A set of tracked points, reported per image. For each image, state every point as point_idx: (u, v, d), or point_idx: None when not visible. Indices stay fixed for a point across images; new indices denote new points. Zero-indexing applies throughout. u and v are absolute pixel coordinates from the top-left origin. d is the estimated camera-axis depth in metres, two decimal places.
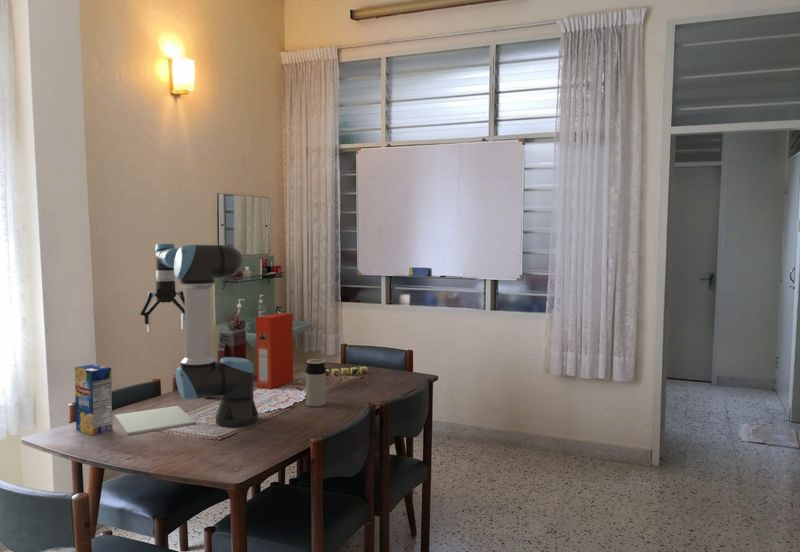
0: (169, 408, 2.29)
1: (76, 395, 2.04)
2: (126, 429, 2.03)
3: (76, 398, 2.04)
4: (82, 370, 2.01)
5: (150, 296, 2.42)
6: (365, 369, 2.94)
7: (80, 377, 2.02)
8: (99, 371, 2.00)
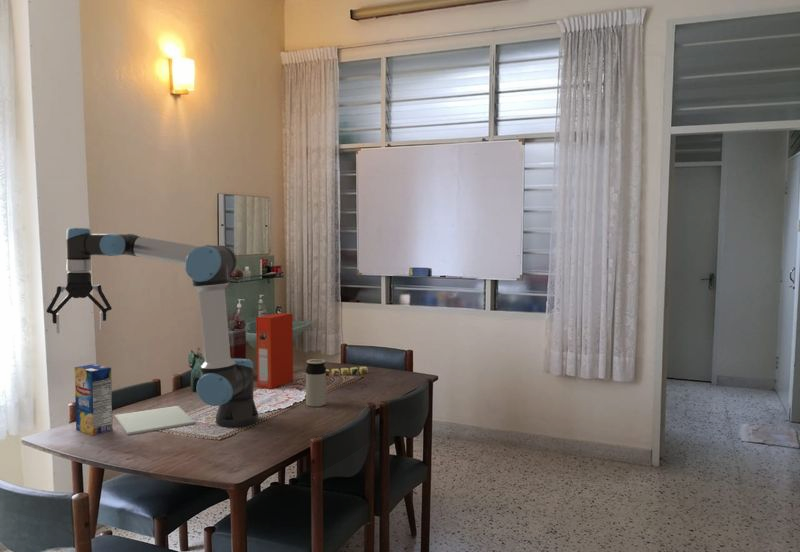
0: (169, 408, 2.29)
1: (76, 395, 2.04)
2: (126, 429, 2.03)
3: (76, 398, 2.04)
4: (82, 370, 2.01)
5: (59, 290, 2.03)
6: (365, 369, 2.94)
7: (80, 377, 2.02)
8: (99, 371, 2.00)
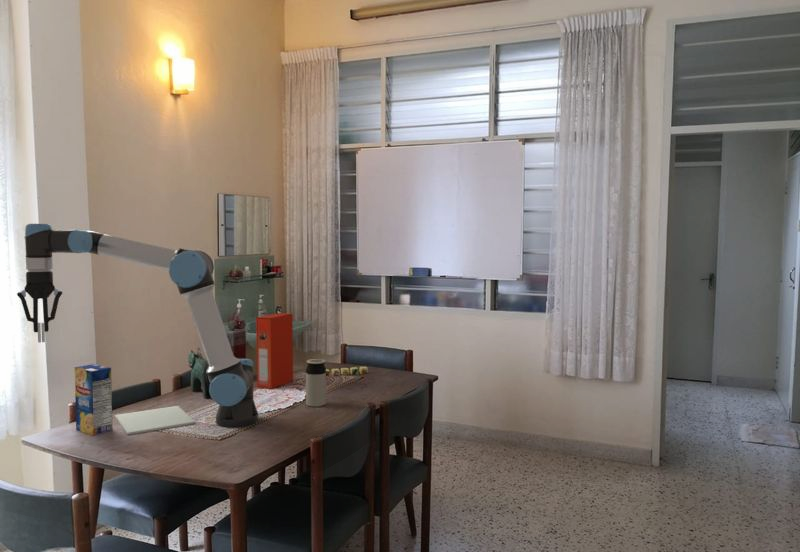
0: (169, 408, 2.29)
1: (76, 395, 2.04)
2: (126, 429, 2.03)
3: (76, 398, 2.04)
4: (82, 370, 2.01)
5: (21, 296, 1.90)
6: (365, 369, 2.94)
7: (80, 377, 2.02)
8: (99, 371, 2.00)
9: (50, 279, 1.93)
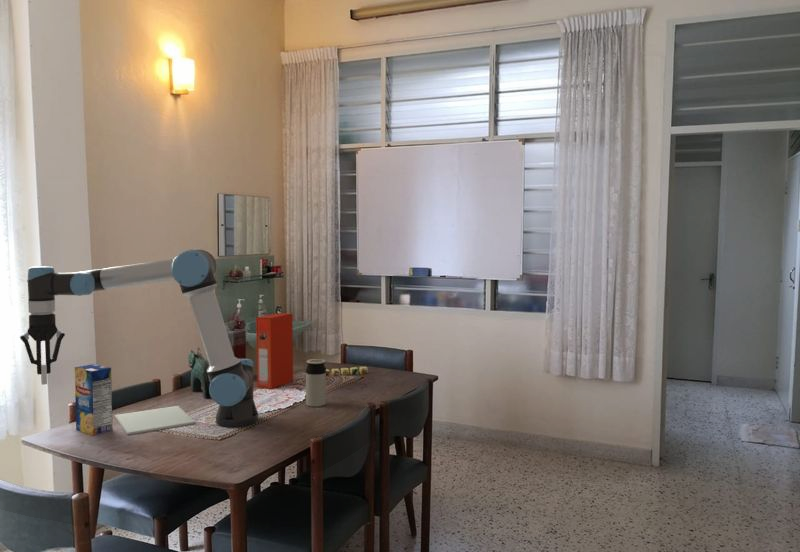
0: (169, 408, 2.29)
1: (76, 395, 2.04)
2: (126, 429, 2.03)
3: (76, 398, 2.04)
4: (82, 370, 2.01)
5: (24, 340, 1.91)
6: (365, 369, 2.94)
7: (80, 377, 2.02)
8: (99, 371, 2.00)
9: (53, 321, 1.94)
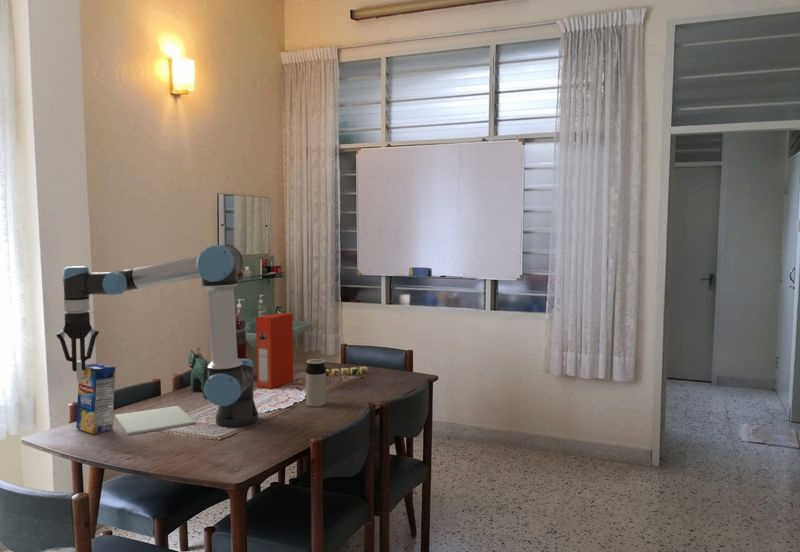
0: (169, 408, 2.29)
1: (79, 393, 2.05)
2: (126, 429, 2.03)
3: (78, 397, 2.05)
4: (87, 368, 2.02)
5: (60, 337, 1.96)
6: (365, 369, 2.94)
7: (84, 374, 2.03)
8: (103, 369, 2.01)
9: (87, 320, 2.00)
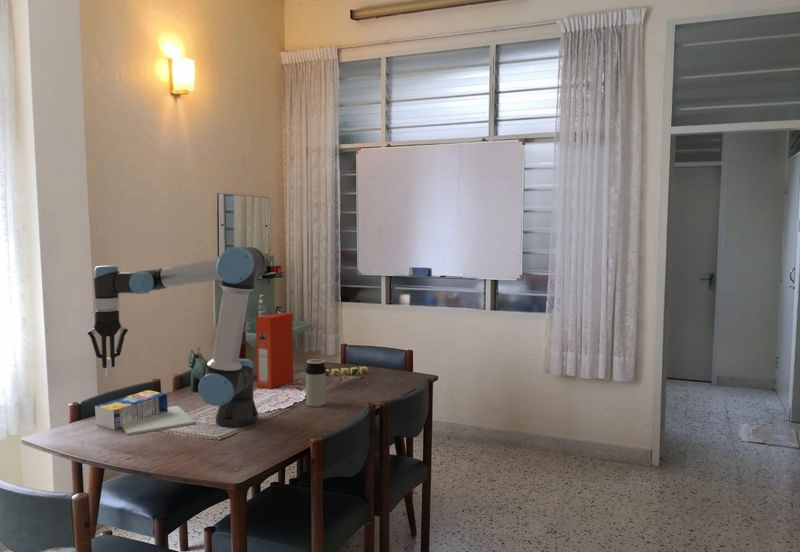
0: (169, 408, 2.29)
1: (126, 397, 2.20)
2: (126, 429, 2.03)
3: (124, 397, 2.19)
4: (155, 392, 2.26)
5: (91, 335, 2.02)
6: (365, 369, 2.94)
7: (147, 393, 2.25)
8: (166, 401, 2.24)
9: (117, 318, 2.05)
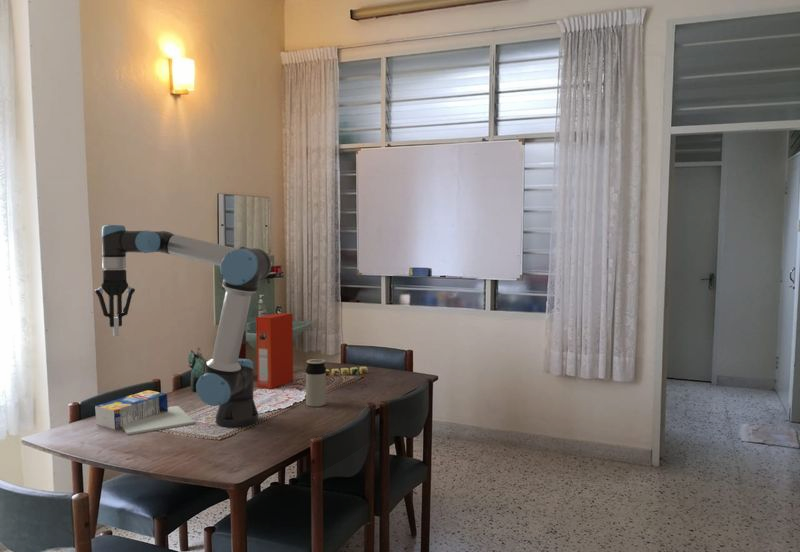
0: (169, 408, 2.29)
1: (127, 397, 2.20)
2: (126, 429, 2.03)
3: (124, 397, 2.19)
4: (155, 392, 2.26)
5: (99, 293, 2.03)
6: (365, 369, 2.94)
7: (147, 393, 2.25)
8: (166, 400, 2.24)
9: (124, 277, 2.06)
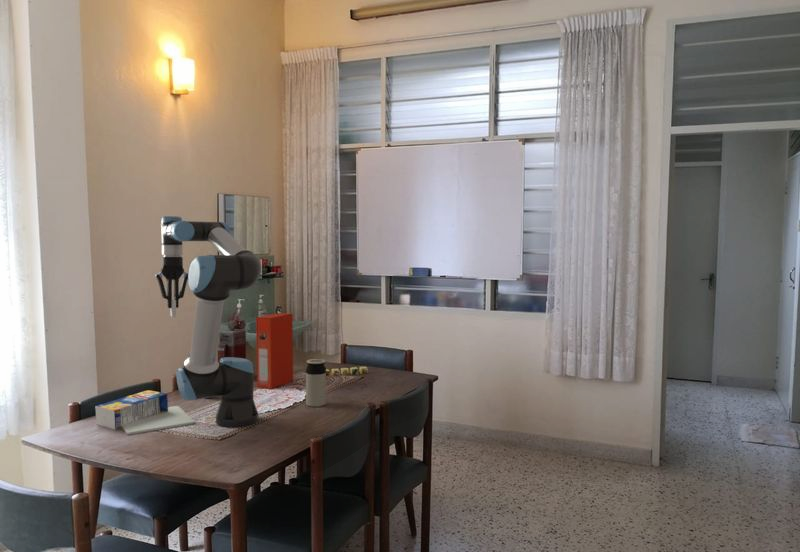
0: (169, 408, 2.29)
1: (127, 397, 2.20)
2: (126, 429, 2.03)
3: (124, 397, 2.19)
4: (156, 392, 2.26)
5: (159, 278, 2.26)
6: (365, 369, 2.94)
7: (147, 393, 2.25)
8: (166, 400, 2.24)
9: (181, 263, 2.29)
